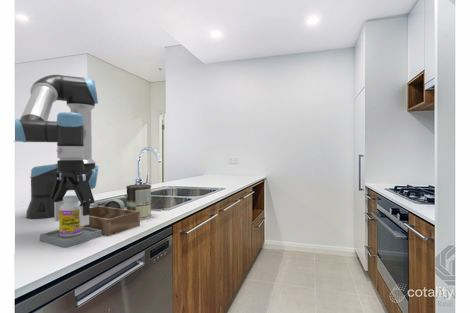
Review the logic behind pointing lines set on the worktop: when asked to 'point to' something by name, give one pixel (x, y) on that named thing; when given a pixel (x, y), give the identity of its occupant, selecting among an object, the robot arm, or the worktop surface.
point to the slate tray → (70, 241)
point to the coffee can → (139, 199)
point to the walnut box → (112, 219)
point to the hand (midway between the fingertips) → (71, 222)
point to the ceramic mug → (115, 204)
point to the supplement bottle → (70, 217)
